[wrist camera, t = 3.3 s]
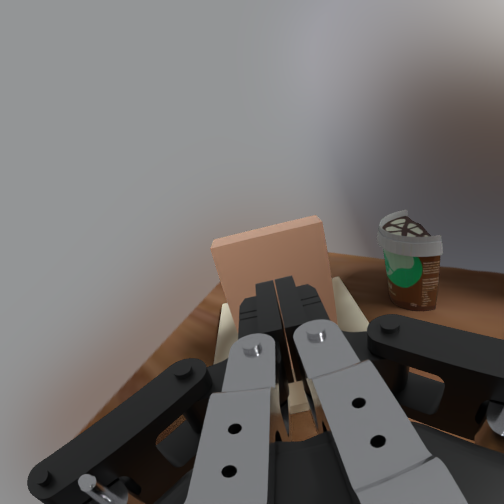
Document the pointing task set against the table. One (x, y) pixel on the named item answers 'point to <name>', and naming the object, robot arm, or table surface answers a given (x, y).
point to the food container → (410, 261)
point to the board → (347, 320)
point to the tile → (275, 262)
